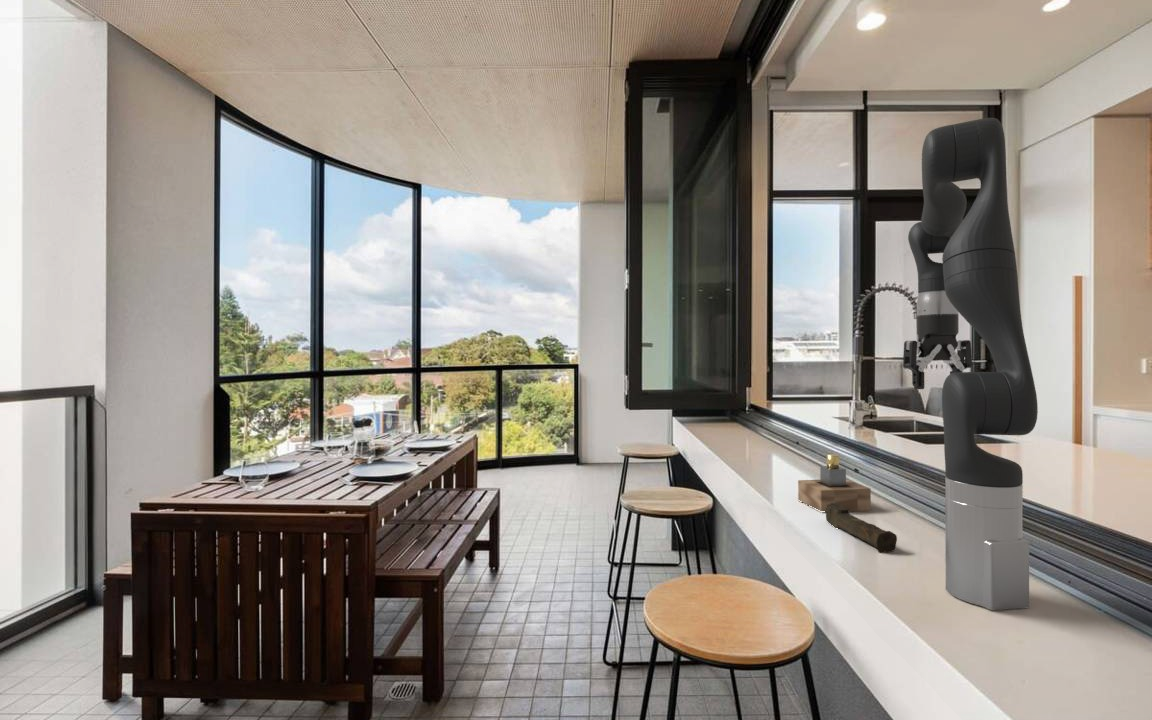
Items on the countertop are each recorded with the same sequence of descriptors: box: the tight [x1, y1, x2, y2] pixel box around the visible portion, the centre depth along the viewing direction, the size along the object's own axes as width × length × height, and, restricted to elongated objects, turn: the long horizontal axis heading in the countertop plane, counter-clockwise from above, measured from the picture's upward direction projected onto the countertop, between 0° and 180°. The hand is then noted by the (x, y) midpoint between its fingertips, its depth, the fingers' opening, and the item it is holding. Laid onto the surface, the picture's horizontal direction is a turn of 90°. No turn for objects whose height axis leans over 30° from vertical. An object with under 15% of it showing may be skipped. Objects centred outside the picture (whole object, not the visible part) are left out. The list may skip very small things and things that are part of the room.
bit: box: [819, 453, 847, 488], centre depth 130 cm, size 4×4×12 cm
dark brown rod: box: [825, 503, 898, 553], centre depth 109 cm, size 19×4×5 cm, turn 6°
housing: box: [797, 478, 872, 512], centre depth 130 cm, size 10×12×5 cm
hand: (937, 388), depth 119 cm, fingers open, 8 cm apart
